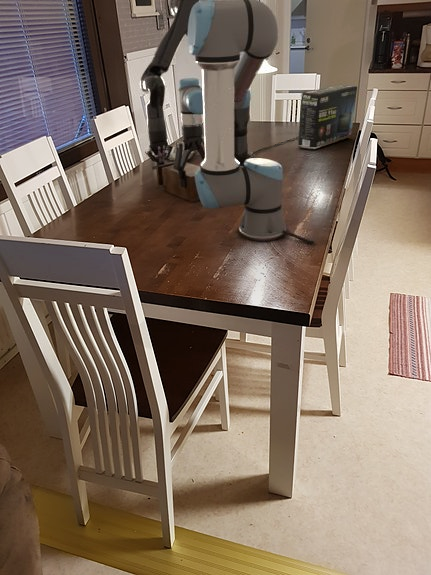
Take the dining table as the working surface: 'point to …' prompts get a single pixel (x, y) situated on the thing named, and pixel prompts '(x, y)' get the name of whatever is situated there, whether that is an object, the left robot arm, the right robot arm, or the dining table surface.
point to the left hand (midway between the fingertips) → (161, 170)
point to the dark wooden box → (175, 184)
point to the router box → (326, 115)
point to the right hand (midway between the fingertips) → (195, 183)
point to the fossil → (173, 153)
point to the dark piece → (161, 172)
